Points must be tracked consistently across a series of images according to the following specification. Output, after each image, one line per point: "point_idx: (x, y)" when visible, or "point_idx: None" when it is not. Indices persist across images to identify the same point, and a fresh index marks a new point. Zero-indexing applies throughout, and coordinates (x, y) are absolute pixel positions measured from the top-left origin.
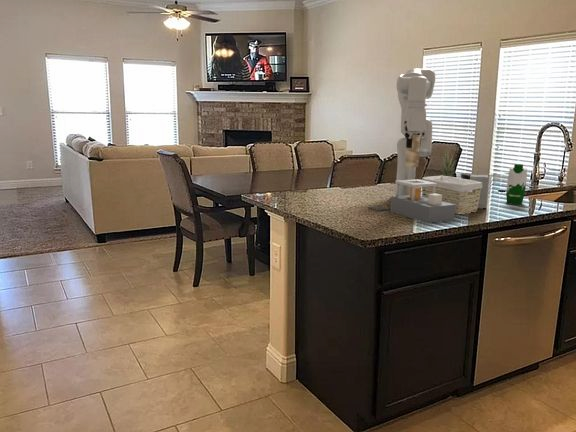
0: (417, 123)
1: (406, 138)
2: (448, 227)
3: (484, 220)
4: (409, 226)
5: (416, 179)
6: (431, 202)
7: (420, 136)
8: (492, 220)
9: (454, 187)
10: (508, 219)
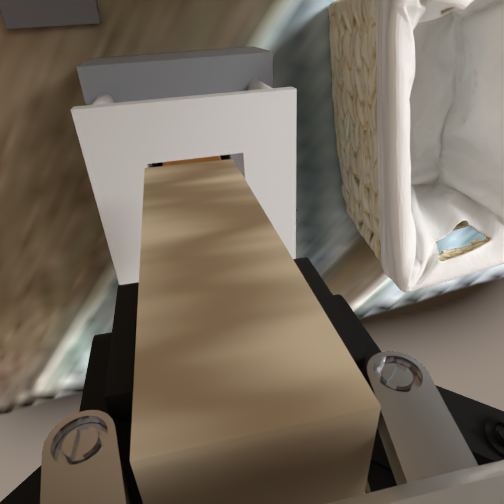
0: None
1: (75, 432)
2: None
3: (361, 292)
4: (55, 329)
5: (278, 94)
6: None
7: (370, 477)
8: (383, 295)
9: (387, 251)
10: (437, 291)
